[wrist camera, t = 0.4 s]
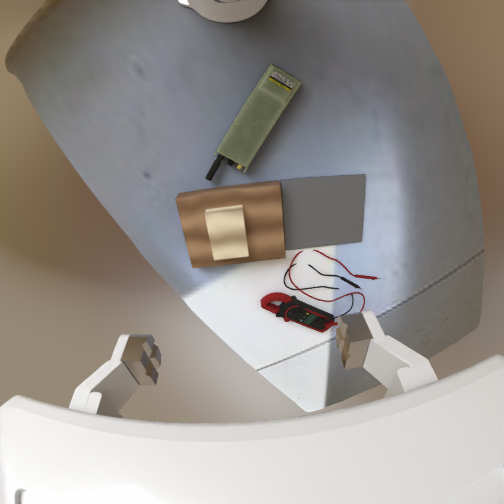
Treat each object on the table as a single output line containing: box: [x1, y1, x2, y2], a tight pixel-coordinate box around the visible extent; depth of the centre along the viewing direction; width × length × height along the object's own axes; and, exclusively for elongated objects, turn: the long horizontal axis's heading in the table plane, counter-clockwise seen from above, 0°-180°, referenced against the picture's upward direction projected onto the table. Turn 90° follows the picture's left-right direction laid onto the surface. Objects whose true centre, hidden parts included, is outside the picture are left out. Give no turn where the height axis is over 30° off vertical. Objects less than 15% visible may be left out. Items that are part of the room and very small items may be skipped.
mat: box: [281, 174, 365, 250], centre depth 58 cm, size 16×18×1 cm
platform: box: [176, 180, 285, 268], centre depth 57 cm, size 16×20×4 cm
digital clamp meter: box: [261, 250, 380, 333], centre depth 68 cm, size 23×4×25 cm
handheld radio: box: [205, 64, 302, 181], centre depth 47 cm, size 7×3×25 cm
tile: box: [205, 205, 249, 260], centre depth 55 cm, size 10×7×2 cm
